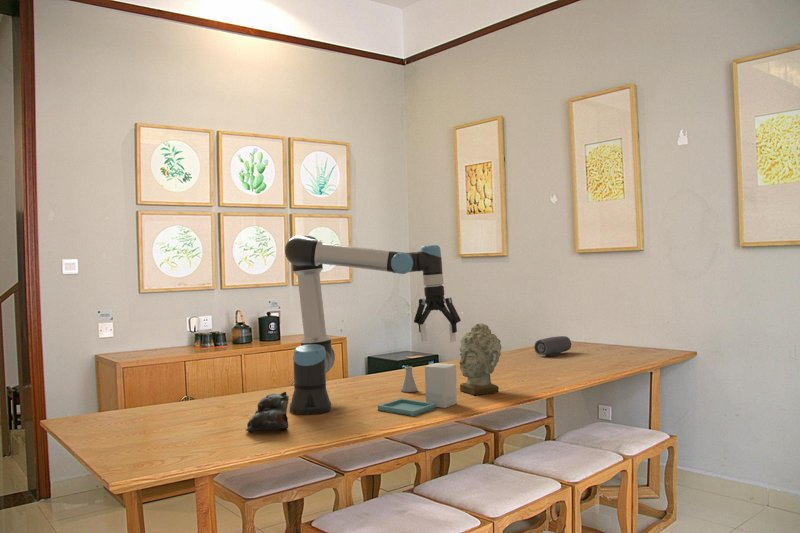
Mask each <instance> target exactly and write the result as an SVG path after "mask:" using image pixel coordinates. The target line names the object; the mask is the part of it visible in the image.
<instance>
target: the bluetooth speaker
mask: <svg viewBox="0 0 800 533" xmlns="http://www.w3.org/2000/svg"><path fill="white" fill-rule="evenodd" d="M571 348H572V342H571V339H570V337H568V336H566V335H565V336H563V335H561V336H559V335H558V336H551V337H546V338H541V339H538V340H537V341H535V342H534V351H535V353H536V354H537V355H539V356H546V357H554V356H559V355H561V353H564V352H568V351H569V350H571Z"/></svg>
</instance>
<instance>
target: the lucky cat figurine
mask: <svg viewBox="0 0 800 533" xmlns="http://www.w3.org/2000/svg"><path fill="white" fill-rule="evenodd" d="M288 404H289V395H288V394H287V391H283V392H281V393H270V394H266V396H265V397H263V398H262V399H260V400H259V402H258V403H257V410H256V411H255V413H254V415H253V416H252V417H250V419H249V420H248V422H247V428H246V429H245V432H248V433H250V432H254V431H255V432H256V431H265V430H267V431H269V430H280V431H281V430H282V431H288V428H289V422H288V421H289V420H288V416H287V413H288V412H287V410H288Z"/></svg>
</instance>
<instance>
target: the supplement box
mask: <svg viewBox="0 0 800 533" xmlns="http://www.w3.org/2000/svg"><path fill="white" fill-rule="evenodd" d="M424 384H425V385H424V387H425V388H424V389H425V390H424V391H425V402H428V403H434V404H436V408H442V409H447V408H449V407H452V406H455V405H457V403H458V401H457V400H458V399H457V395H458V394H457V364H453V363H451V364H450V363H440V362H439V363H438V362H435V363H432V364H429V365H428V364H427V365H425V366H424Z"/></svg>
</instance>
